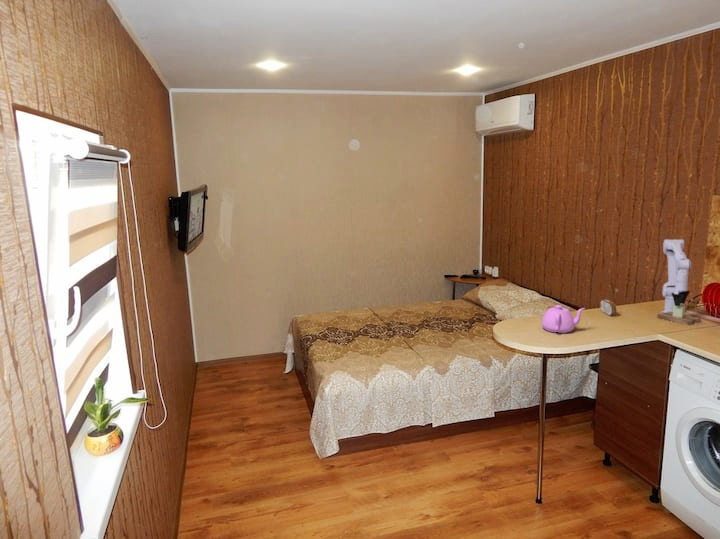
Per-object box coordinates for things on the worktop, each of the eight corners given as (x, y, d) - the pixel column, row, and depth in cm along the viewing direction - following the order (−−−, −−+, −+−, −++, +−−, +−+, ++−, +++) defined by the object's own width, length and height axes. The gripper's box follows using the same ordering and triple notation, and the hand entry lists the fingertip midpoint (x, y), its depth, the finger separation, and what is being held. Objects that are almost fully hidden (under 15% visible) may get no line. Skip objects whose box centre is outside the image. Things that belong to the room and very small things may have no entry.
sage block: (675, 314, 271) (676, 304, 270) (684, 315, 268) (685, 305, 267) (672, 316, 269) (673, 305, 268) (681, 317, 265) (682, 307, 264)
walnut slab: (670, 316, 278) (670, 311, 278) (700, 323, 263) (700, 318, 262) (657, 319, 274) (657, 314, 274) (687, 326, 259) (687, 321, 258)
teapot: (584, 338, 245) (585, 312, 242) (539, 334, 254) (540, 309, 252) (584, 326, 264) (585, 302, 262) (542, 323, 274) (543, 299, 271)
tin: (616, 317, 279) (617, 303, 278) (611, 317, 279) (611, 303, 278) (604, 310, 294) (604, 297, 292) (599, 310, 294) (599, 297, 292)
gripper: (678, 278, 272) (676, 301, 274) (668, 282, 263) (666, 305, 266) (692, 279, 267) (690, 303, 269) (683, 283, 258) (681, 307, 260)
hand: (679, 304), depth 267 cm, fingers open, 7 cm apart
